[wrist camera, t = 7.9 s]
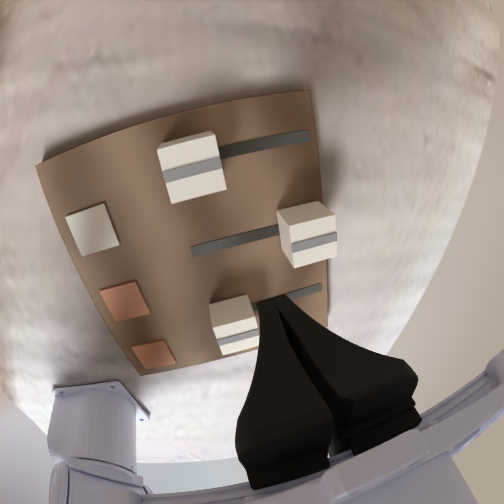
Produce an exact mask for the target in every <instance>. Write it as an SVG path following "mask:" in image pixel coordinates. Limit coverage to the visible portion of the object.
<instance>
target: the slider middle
mask: <svg viewBox="0 0 504 504" xmlns="http://www.w3.org/2000/svg"><path fill="white" fill-rule="evenodd" d="M276 212H277V219H278V225H279V232H280V239H281V246H282V250H283V252H284V253H285V255H286V257H287V258H288V260H289V261H290V263H291V264H292V266H293V267H294V268H298V267H301V266H305V265H308V264H312V263H315V262H319V261H322V260H325V259H329V258H332V257H336V256H337V250H336V241H337V233H336V223H335V214H334V213H333V212H331V211H330V210H329V209H328V208H326V207H325V206H324V205H323V204H321V203H320V202H319V201H315V202H310V203H306V204H302V205H298V206H293V207H289V208H285V209H281V210H277V211H276Z"/></svg>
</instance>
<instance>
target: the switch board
mask: <svg viewBox="0 0 504 504" xmlns="http://www.w3.org/2000/svg"><path fill="white" fill-rule="evenodd" d="M207 131H212V132H213V133H214V134H215V137H216V141H217V146H218V151H219V156H220V160H221V164H222V170H223V174H224V179H225V183H226V188H227V190H223V191H219V192H215V193H211V194H207V195H203V196H200V197H196V198H192V199H188V200H185V201H181V202H177V203H174V204H171V200H170V197H169V194H168V190H167V186H166V183H165V180H164V177H163V173H162V168H161V165H160V161H159V157H158V153H157V148H158V147H159V145H160V144H161V143H164V142H168V141H172V140H175V139H179V138H183V137H187V136H190V135H194V134H199V133H203V132H207ZM35 167H36V170H37V173H38V176H39V179H40V182H41V185H42V188H43V191H44V194H45V197H46V199H47V202H48V205H49V207H50V210H51V212H52V215H53V218H54V220H55V222H56V225H57V227H58V230H59V232H60V234H61V237H62V239H63V241H64V244H65V246H66V248H67V250H68V252H69V254H70V257H71V259H72V261H73V263H74V265H75V267H76V269H77V271H78V273H79V275H80V277H81V279H82V281H83V283H84V285H85V287H86V289H87V291H88V292H89V294H90V296H91V298H92V300H93V302H94V303H95V305H96V307H97V309H98V310H99V312H100V314H101V316H102V317H103V319H104V321H105V322H106V324H107V326H108V327H109V329H110V331H111V332H112V334H113V336H114V337H115V339H116V340H117V342H118V343H119V345H120V347H121V348H122V350H123V351H124V353H125V354H126V356H127V357H128V359H129V360H130V362H131V363H132V365H133V366H134V367H135V369H136V370H137V372H138V373H139V375H140V376H143V375H149V374H154V373H159V372H164V371H169V370H174V369H179V368H183V367H188V366H192V365H197V364H201V363H205V362H210V361H214V360H218V359H222V358H226V357H230V356H234V355H237V354H241V353H245V352H249V351H252V350H256V349H258V348H259V346H256V347H253V348H249V349H246V350H242V351H238V352H234V353H230V354H227V355H223V354H222V352H221V349H220V347H219V344H218V342H217V339H216V336H215V333H214V331H213V328H212V322H211V316H210V310H209V304H213V303H217V302H221V301H224V300H228V299H232V298H236V297H239V296H243V295H248V297H249V300H250V303H251V306H252V309H253V312H254V314H255V318H256V322H257V326H258V330H259V334H260V323H259V316H258V311H257V306H256V303H257V302H258V301H261V300H264V299H268V298H271V297H275V296H278V295H282V294H285V295H287V296H288V297H289V298H290V299H291V300H292V301H293V302H294V303H295V304H296V305H297V306H298V307H300V308H301V309H302V310H303V311H304V312H305V313H307V314H308V315H309V316H310V317H312V318H313V319H314V320H315V321H317V322H318V323H320V324H321V325H322V326H324V327H325V328H326V327H328V306H327V269H326V259H325V260H322V261H319V262H315V263H312V264H308V265H305V266H301V267H298V268H294V267H293V266H292V264H291V263H290V261H289V260H288V258H287V257H286V255H285V253H284V252H283V250H282V246H281V239H280V232H279V225H278V219H277V212H276V211H277V210H281V209H285V208H289V207H293V206H298V205H302V204H306V203H310V202H315V201H319V202H320V203H321V204H323V202H322V190H321V179H320V168H319V159H318V150H317V141H316V133H315V125H314V118H313V110H312V103H311V97H310V90H304V91H294V92H285V93H277V94H270V95H263V96H257V97H251V98H245V99H239V100H234V101H228V102H223V103H218V104H214V105H209V106H204V107H200V108H196V109H192V110H188V111H184V112H180V113H176V114H172V115H168V116H165V117H161V118H158V119H154V120H151V121H148V122H144V123H141V124H138V125H135V126H132V127H129V128H126V129H123V130H120V131H117V132H114V133H111V134H109V135H106V136H103V137H100V138H98V139H95V140H93V141H90V142H87V143H85V144H82V145H80V146H78V147H75V148H73V149H70V150H68V151H66V152H63V153H61V154H59V155H57V156H55V157H52V158H50V159H48V160H46V161H44V162H42V163H40V164H38V165H36V166H35Z"/></svg>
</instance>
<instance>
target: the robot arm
mask: <svg viewBox="0 0 504 504" xmlns="http://www.w3.org/2000/svg"><path fill="white" fill-rule="evenodd" d="M256 306H257V311H258V316H259V323H260V334H259V348H258V356H257V362H256V367H255V371H254V376H253V380H252V383H251V387H250V390H249V392H248V395H247V398H246V401H245V404H244V406H243V408H242V411H241V413H240V415H239V417H238V420H237V427H236V435H235V447H236V452H237V455H238V459H239V461H240V463H241V464H242V465H243V467H244V468H245V469H246V472H247V476H248V480H249V482H245V483H240V484H235V485H230V486H224V487H218V488H212V489H205V490H197V491H189V492H180V493H169V494H168V493H167V494H153V492H152V491H151V489H150V488H149V487H148V486H147V485H144V484H143V477H142V476H138V475H137V474H136V422H144V421H149V420H150V417H149V416H148V415H147V413H146V412H145V411H144V410H143V409H142V408H141V407H140V406H139V404H138V403H137V402H136V401H135V400H134V399H133V397H132V396H131V395H130V394H129V393H128V391H127V390H126V389H125V388H124V386H123V385H122V384H121V383H120V382H118V381H112V382H105V383H98V384H91V385H83V386H74V387H64V388H54V389H52V394H53V395H54V396H55V401H54V405H53V410H52V414H51V419H50V425H49V430H48V436H47V441H48V448H49V452H50V455H51V457H52V459H53V460H54V462H56V464H55V465H54V467H53V470H52V474H51V480H50V487H49V504H478V502H477V500H476V499H475V497H474V495H473V493H472V492H471V490H470V488H469V487H468V485H467V483H466V481H465V480H464V478H463V476H462V475H461V473H460V471H459V470H458V468H457V466H456V465H455V463H454V461H453V460H452V458H451V457H452V456H454V455H455V454H456V453H458V452H459V451H460V450H462V449H463V448H464V447H465V446H467V445H468V444H469V443H471V442H472V441H473V440H474V439H475V438H477V437H478V436H479V435H480V434H481V433H482V432H484V430H486V429H487V428H488V427H489V426H490V425H491V424H493V422H495V421H496V420H497V419H498V418H499V417H500V416H501V415H502V414H503V413H504V349H503V350H502V351H500V353H498V354H497V355H496V356H494V357H493V358H492V359H491V360H490V362H489V363H488V364H487V366H486V368H485V371H483V372H482V373H481V374H479V375H478V376H477V377H476V378H474V379H473V380H472V381H470V382H469V383H467V384H466V385H465V386H464V387H462V388H460V389H459V390H458V391H456V392H455V393H453V394H452V395H451V396H449V397H447V398H446V399H444V400H443V401H441V402H440V403H438V404H437V405H435V406H433V407H432V408H430V409H429V410H427V411H425V412H424V413H422V414H420V415H419V414H418V412H417V411H416V409H415V407H414V406H415V401H414V400H413V399H412V395H413V393H414V391H415V389H416V386H417V383H418V376H417V375H416V373H415V372H414V371H413V369H412V368H411V367H410V366H409V365H408V364H407V363H406V362H405V361H404V360H402V359H398V358H393V357H389V356H385V355H382V354H379V353H376V352H373V351H370V350H368V349H365V348H363V347H360V346H358V345H356V344H353V343H351V342H349V341H347V340H345V339H344V338H342V337H340V336H338V335H336V334H335V333H333V332H331V331H330V330H328V329H327V328H325V327H324V326H322V325H321V324H320V323H318V322H317V321H315V320H314V319H313V318H312V317H310V316H309V315H308V314H307V313H305V312H304V311H303V310H302V309H301V308H300V307H298V306H297V305H296V304H295V303H294V302H293V301H292V300H291V299H290V298H289V297H288V296H287V295H285V294H282V295H278V296H275V297H271V298H268V299H264V300H261V301H258V302H257V303H256ZM328 453H329V456H330V458H328V457H327V456H328Z"/></svg>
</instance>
